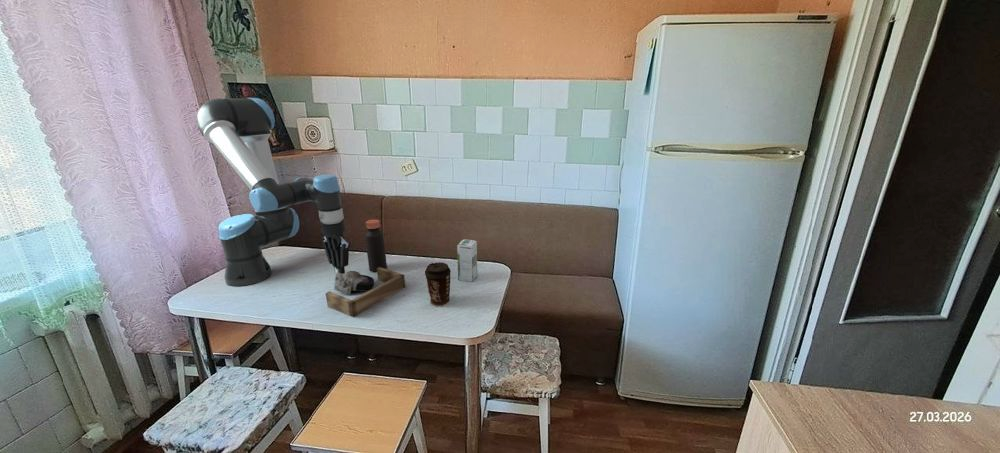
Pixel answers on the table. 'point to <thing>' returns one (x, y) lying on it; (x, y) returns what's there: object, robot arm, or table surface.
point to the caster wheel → (353, 282)
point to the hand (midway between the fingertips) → (341, 282)
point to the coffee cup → (438, 283)
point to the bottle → (375, 246)
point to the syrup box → (467, 260)
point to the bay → (368, 294)
